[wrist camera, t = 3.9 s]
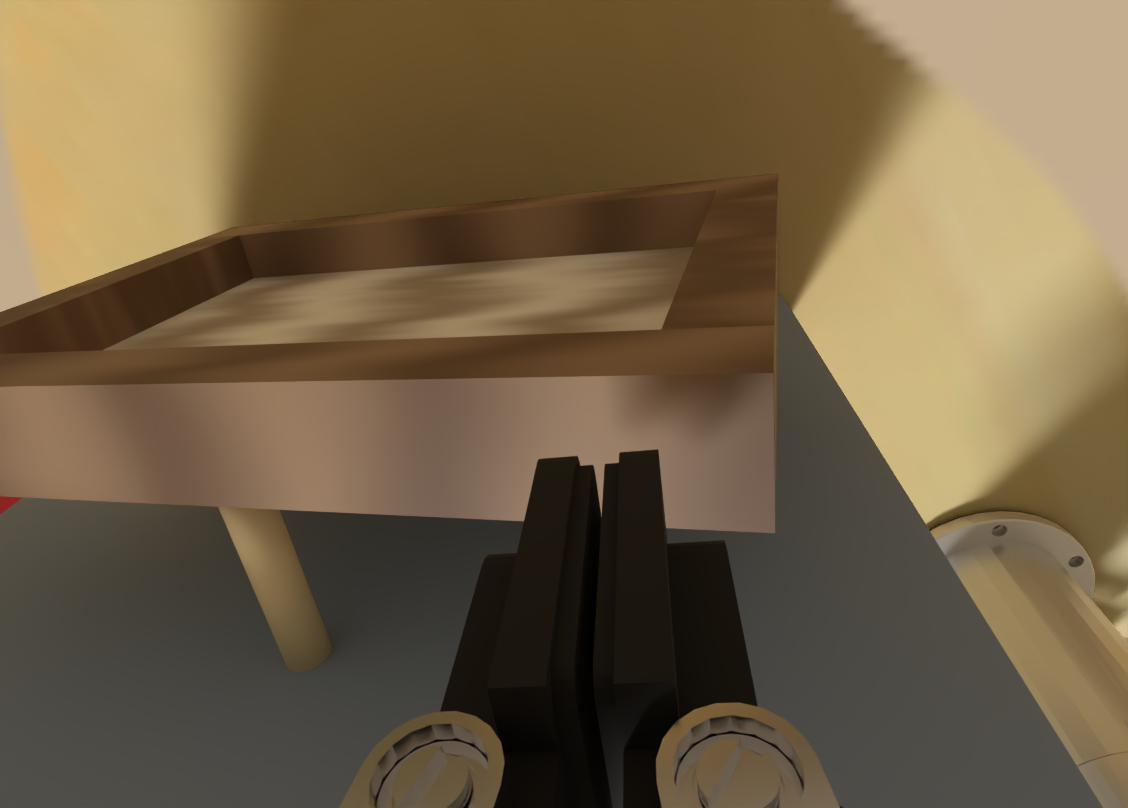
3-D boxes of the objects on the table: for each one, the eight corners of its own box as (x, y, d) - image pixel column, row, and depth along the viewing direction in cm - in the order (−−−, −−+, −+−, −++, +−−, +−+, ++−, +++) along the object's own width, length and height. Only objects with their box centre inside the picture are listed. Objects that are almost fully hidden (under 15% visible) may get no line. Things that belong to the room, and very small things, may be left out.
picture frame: (777, 173, 25) (773, 373, 11) (778, 255, 26) (774, 533, 12) (232, 227, 32) (-214, 390, 18) (253, 290, 34) (-146, 489, 19)
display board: (781, 199, 36) (1198, 605, 10) (781, 328, 40) (1099, 905, 13) (184, 274, 41) (-644, 688, 14) (226, 384, 44) (-387, 893, 18)
